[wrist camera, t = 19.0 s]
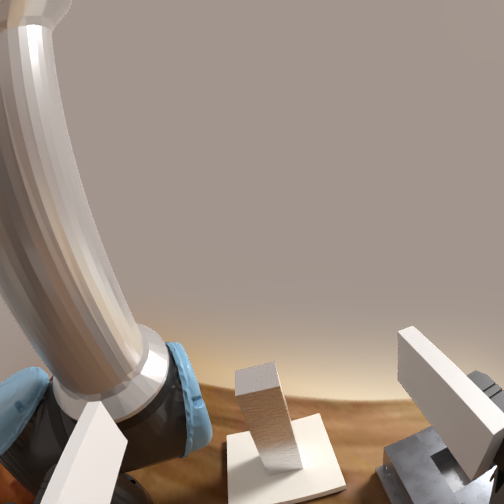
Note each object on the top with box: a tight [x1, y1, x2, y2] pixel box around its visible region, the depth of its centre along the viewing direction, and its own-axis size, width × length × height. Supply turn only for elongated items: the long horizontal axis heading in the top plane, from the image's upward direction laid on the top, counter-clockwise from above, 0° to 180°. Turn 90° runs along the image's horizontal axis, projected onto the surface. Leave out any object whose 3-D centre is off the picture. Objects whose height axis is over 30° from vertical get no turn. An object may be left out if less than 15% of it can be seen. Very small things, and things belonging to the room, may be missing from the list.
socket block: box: [375, 426, 497, 504], centre depth 18 cm, size 16×20×5 cm
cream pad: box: [227, 413, 346, 504], centre depth 34 cm, size 14×14×1 cm
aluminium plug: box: [235, 362, 304, 476], centre depth 32 cm, size 4×4×15 cm
